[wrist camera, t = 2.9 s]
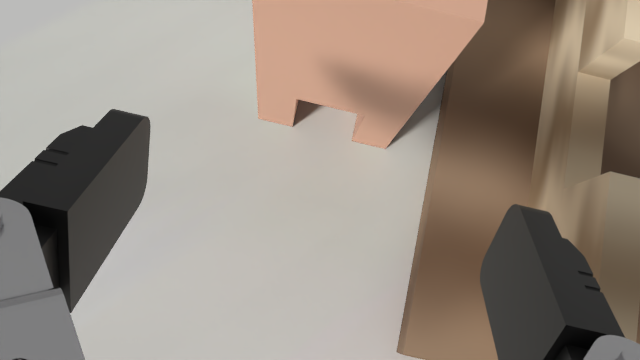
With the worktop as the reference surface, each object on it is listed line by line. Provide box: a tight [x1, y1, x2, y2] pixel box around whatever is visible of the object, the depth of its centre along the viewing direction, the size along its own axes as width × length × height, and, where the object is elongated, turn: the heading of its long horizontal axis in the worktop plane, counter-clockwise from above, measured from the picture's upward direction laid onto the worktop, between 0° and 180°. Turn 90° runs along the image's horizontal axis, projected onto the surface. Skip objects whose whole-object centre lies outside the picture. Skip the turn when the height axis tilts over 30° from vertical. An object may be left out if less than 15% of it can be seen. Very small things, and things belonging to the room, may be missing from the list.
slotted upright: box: [252, 0, 488, 149], centre depth 20 cm, size 3×6×12 cm, turn 77°
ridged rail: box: [397, 0, 640, 360], centre depth 23 cm, size 20×10×7 cm, turn 167°
